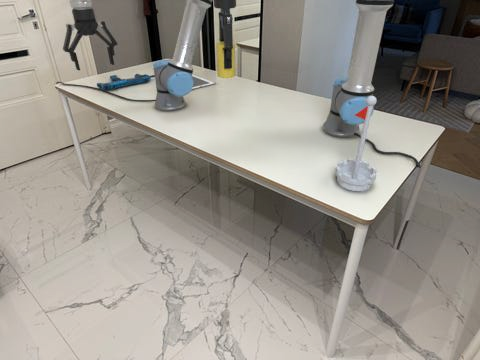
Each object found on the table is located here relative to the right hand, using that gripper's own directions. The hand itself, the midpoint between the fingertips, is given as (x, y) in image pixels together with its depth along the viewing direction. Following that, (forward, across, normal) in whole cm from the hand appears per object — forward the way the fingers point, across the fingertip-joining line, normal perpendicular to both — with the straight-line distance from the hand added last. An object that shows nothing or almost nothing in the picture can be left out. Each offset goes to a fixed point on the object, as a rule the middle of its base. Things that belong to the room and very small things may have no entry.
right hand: (226, 65), depth 125 cm
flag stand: (+31, +40, +36) cm, 62 cm away
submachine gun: (+31, -92, -48) cm, 109 cm away
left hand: (+4, -23, -50) cm, 55 cm away
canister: (+4, 0, 0) cm, 4 cm away
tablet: (+31, -87, -10) cm, 93 cm away
